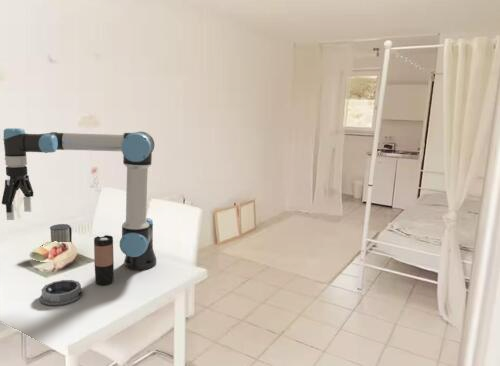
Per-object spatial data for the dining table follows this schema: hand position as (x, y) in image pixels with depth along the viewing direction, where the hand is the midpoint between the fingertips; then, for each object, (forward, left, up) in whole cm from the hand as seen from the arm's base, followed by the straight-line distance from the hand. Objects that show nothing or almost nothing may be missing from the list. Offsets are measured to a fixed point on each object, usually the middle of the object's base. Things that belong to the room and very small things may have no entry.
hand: (19, 215), depth 159 cm
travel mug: (-36, +6, -28) cm, 46 cm away
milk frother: (-3, -29, -28) cm, 40 cm away
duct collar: (-23, +19, -28) cm, 41 cm away
